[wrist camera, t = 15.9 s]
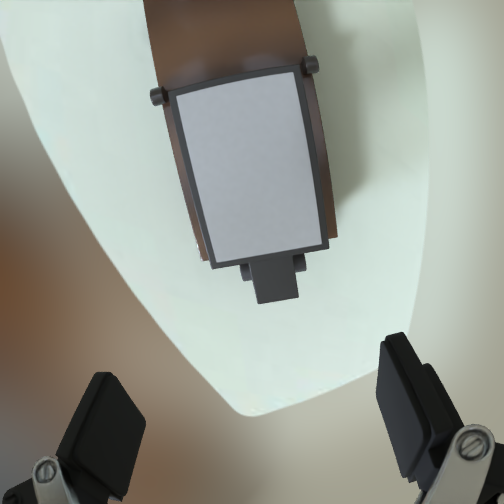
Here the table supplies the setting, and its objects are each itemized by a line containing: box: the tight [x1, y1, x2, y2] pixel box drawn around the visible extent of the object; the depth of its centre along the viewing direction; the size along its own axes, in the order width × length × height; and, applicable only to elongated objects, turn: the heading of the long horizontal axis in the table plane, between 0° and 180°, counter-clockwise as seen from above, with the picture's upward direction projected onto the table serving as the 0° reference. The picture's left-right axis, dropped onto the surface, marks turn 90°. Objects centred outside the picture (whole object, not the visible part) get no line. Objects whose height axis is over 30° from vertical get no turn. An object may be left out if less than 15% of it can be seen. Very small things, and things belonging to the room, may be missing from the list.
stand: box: [143, 0, 338, 261], centre depth 19 cm, size 24×10×7 cm, turn 11°
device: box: [168, 64, 329, 304], centre depth 21 cm, size 16×8×4 cm, turn 11°
